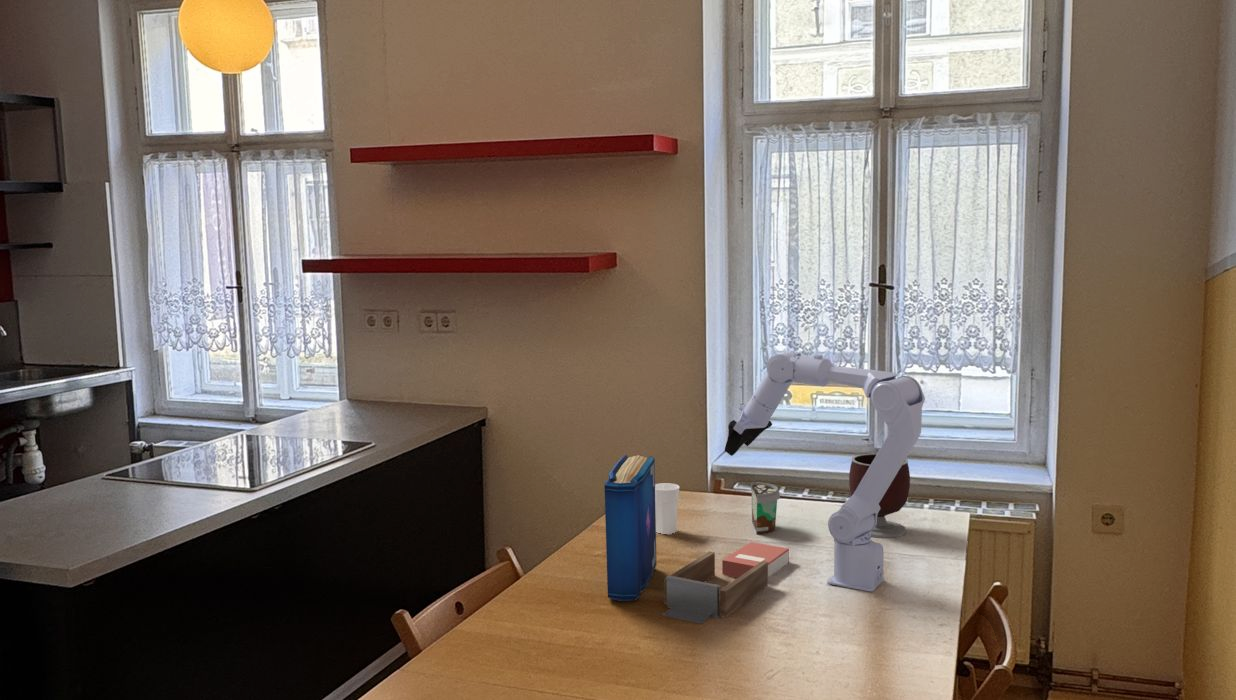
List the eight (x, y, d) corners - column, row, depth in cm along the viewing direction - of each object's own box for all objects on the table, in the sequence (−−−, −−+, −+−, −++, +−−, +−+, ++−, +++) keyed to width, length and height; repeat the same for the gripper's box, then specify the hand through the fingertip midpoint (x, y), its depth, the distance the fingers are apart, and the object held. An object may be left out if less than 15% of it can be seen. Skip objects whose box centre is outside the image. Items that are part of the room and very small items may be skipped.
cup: (647, 529, 240) (646, 485, 238) (671, 525, 242) (671, 481, 241) (660, 537, 234) (659, 491, 232) (684, 533, 237) (684, 488, 235)
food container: (783, 536, 233) (783, 494, 232) (757, 536, 233) (757, 494, 232) (776, 520, 245) (776, 481, 244) (751, 521, 245) (751, 481, 244)
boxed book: (789, 564, 215) (789, 548, 214) (762, 583, 203) (762, 567, 203) (750, 557, 220) (750, 541, 219) (722, 576, 208) (722, 559, 208)
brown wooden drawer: (767, 585, 201) (767, 561, 200) (725, 617, 185) (725, 591, 184) (709, 574, 208) (709, 551, 207) (664, 604, 192) (664, 579, 191)
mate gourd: (843, 521, 243) (844, 441, 241) (901, 521, 243) (902, 441, 240) (856, 541, 228) (857, 456, 226) (917, 541, 227) (919, 455, 225)
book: (639, 606, 191) (636, 479, 188) (603, 604, 193) (600, 478, 190) (657, 568, 212) (655, 454, 209) (624, 566, 214) (622, 453, 211)
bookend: (719, 616, 185) (719, 585, 185) (707, 625, 181) (707, 593, 181) (669, 605, 191) (669, 575, 191) (656, 614, 187) (655, 583, 186)
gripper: (765, 381, 219) (737, 428, 225) (735, 397, 207) (706, 445, 213) (790, 400, 216) (761, 447, 223) (761, 417, 205) (732, 466, 211)
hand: (736, 447), depth 218 cm, fingers open, 7 cm apart
